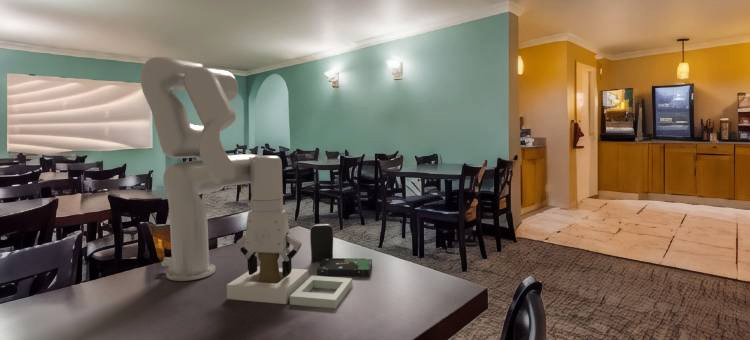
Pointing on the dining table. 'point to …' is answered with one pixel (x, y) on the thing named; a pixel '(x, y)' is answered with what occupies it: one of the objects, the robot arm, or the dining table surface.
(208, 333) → the dining table surface
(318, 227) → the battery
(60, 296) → the dining table surface
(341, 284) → the green square frame
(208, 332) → the dining table surface
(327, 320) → the dining table surface
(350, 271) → the disk drive
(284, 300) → the beige square frame
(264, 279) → the cork
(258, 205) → the robot arm
